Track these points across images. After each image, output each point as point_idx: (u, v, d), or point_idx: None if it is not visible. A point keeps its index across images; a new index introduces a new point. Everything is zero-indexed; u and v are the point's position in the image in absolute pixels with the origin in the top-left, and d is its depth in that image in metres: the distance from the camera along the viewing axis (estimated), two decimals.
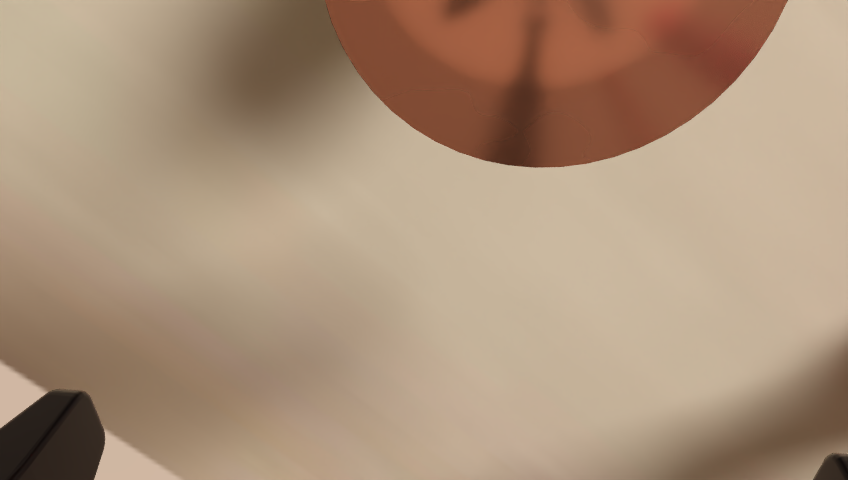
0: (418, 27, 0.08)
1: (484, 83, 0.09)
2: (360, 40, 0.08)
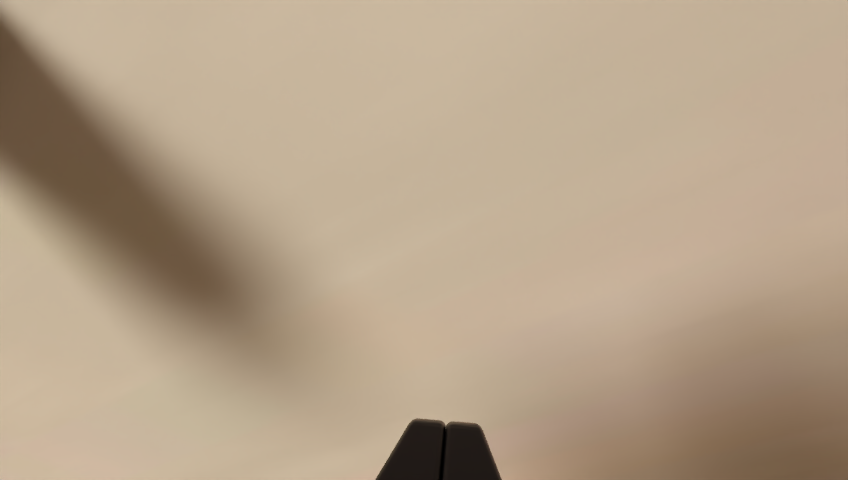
0: None
1: None
2: None
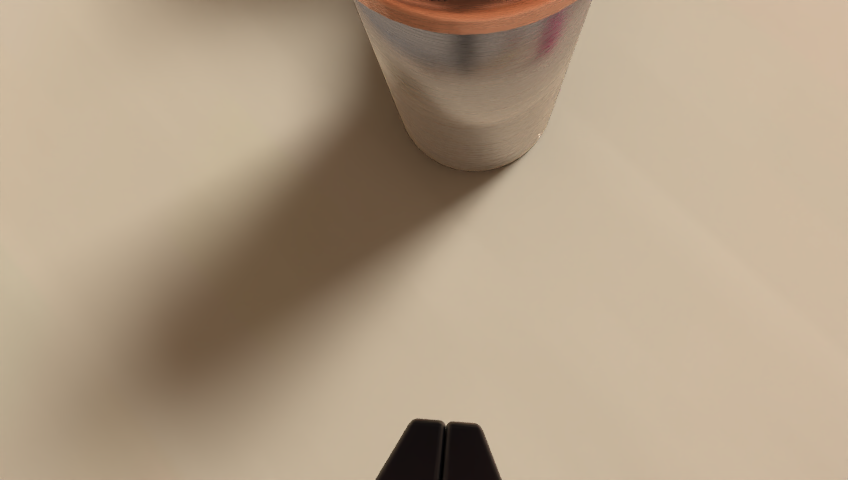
0: None
1: None
2: None
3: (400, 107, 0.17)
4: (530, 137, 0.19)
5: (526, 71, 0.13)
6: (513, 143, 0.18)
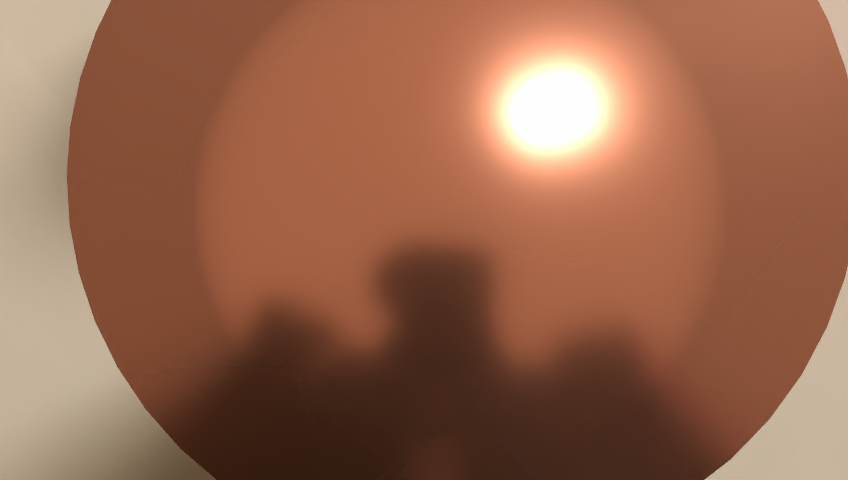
0: (219, 242, 0.05)
1: (328, 358, 0.05)
2: (113, 262, 0.05)
3: None
4: None
5: None
6: None
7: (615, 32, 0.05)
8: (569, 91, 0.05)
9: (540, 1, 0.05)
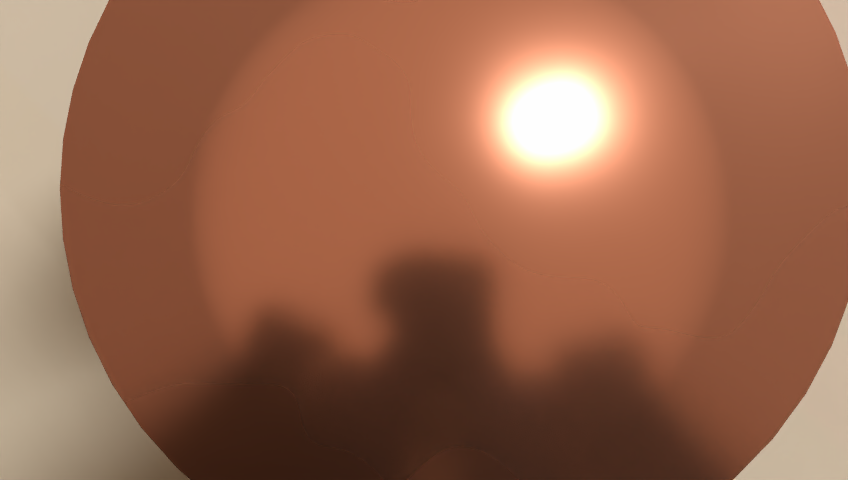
0: (215, 257, 0.05)
1: (326, 375, 0.04)
2: (107, 277, 0.05)
3: None
4: None
5: None
6: None
7: (618, 42, 0.05)
8: (571, 103, 0.05)
9: (541, 11, 0.05)
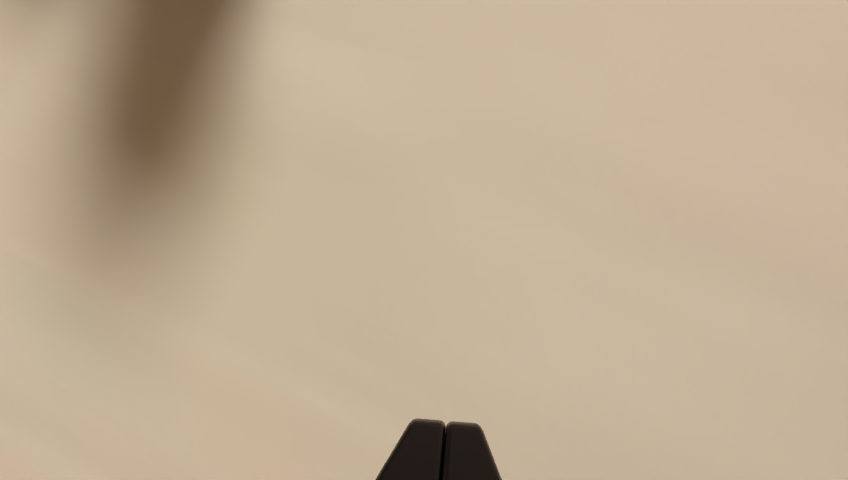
0: None
1: None
2: None
3: None
4: None
5: None
6: None
7: None
8: None
9: None
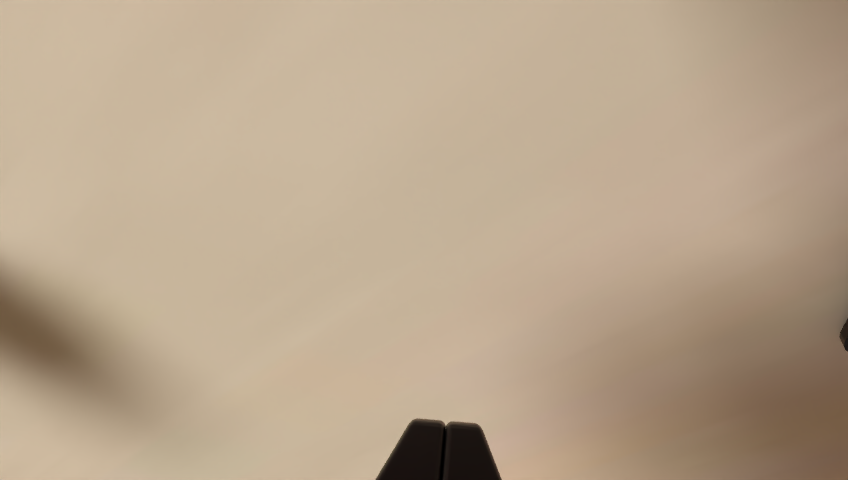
0: None
1: None
2: None
3: None
4: None
5: None
6: None
7: None
8: None
9: None
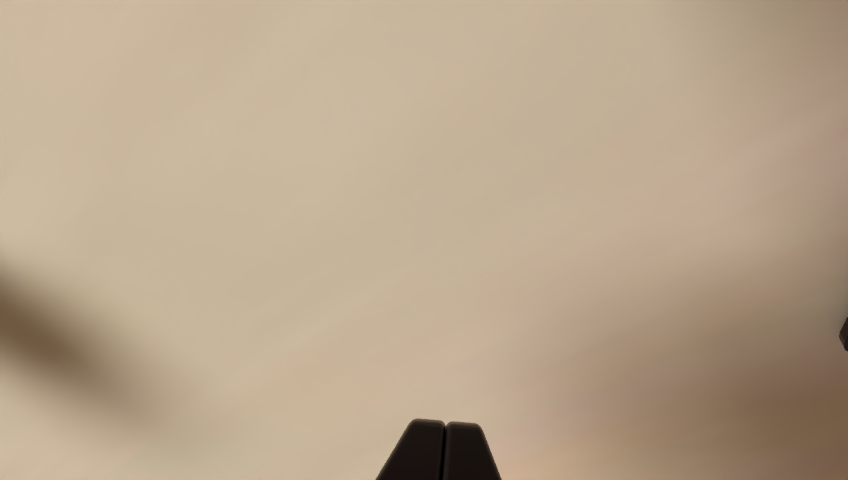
0: None
1: None
2: None
3: None
4: None
5: None
6: None
7: None
8: None
9: None
